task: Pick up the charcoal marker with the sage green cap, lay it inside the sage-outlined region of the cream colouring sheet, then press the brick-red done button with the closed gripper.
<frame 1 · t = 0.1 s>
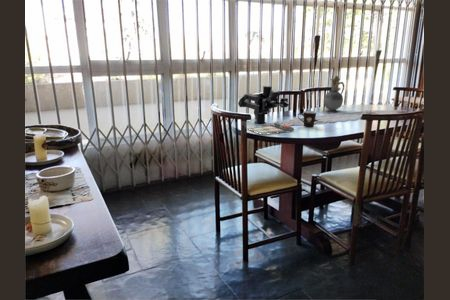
hand: (282, 105, 208), 17 cm above the table, tool horizontal, fingers open, 9 cm apart
marker: (279, 127, 222), on the table
coffee mug: (306, 126, 226), on the table
colouring board: (265, 131, 211), on the table
button housing: (286, 130, 213), on the table
done button: (286, 127, 212), point 2 cm above the table, slide at 0.0 cm
pitcher: (333, 111, 281), on the table
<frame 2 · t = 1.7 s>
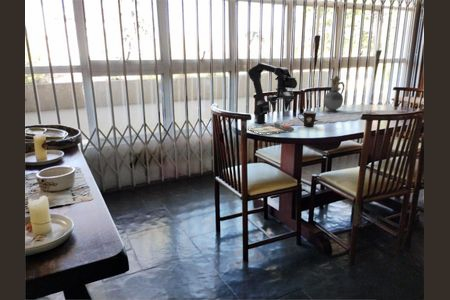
hand: (280, 110, 218), 11 cm above the table, tool pointing down, fingers open, 9 cm apart
nothing on the table moved.
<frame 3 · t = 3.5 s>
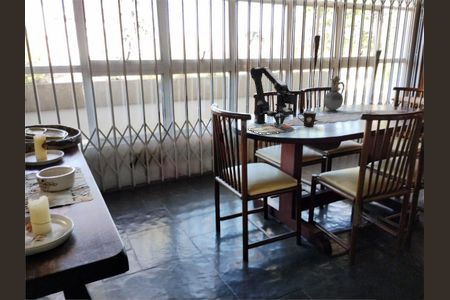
hand: (279, 125, 221), 1 cm above the table, tool pointing down, fingers closed on marker, 2 cm apart
marker: (279, 127, 222), on the table, touching gripper
everything else where it was.
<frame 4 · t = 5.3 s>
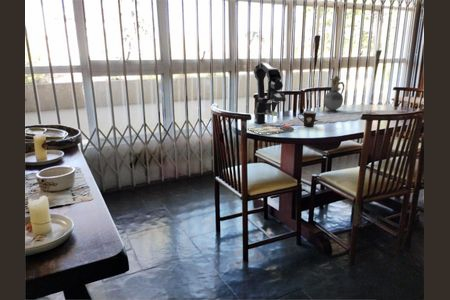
hand: (271, 112, 212), 11 cm above the table, tool pointing down, fingers closed on marker, 2 cm apart
marker: (271, 114, 212), point 10 cm above the table, touching gripper
everything else where it was.
when the fingers open (3 cm above the table, at t = 7.5 s): marker drops 1 cm, resting on colouring board.
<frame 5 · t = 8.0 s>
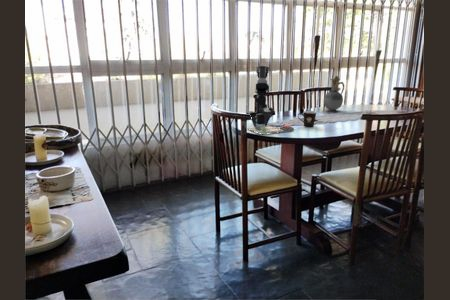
hand: (260, 126, 208), 3 cm above the table, tool pointing down, fingers open, 8 cm apart
marker: (260, 130, 209), point 1 cm above the table, touching colouring board
everything else where it was.
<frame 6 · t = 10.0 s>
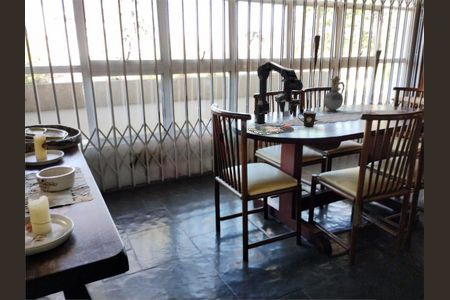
hand: (286, 113, 209), 11 cm above the table, tool pointing down, fingers open, 9 cm apart
nothing on the table moved.
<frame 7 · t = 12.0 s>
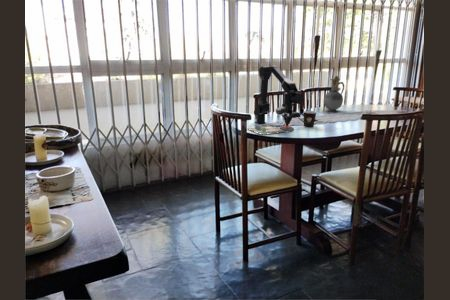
hand: (286, 125, 212), 3 cm above the table, tool pointing down, fingers closed, pressing on done button
done button: (286, 127, 213), point 2 cm above the table, slide at 0.2 cm, touching gripper
everything else where it was.
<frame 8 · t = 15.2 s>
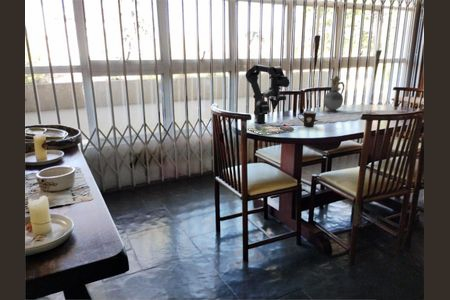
hand: (273, 109, 220), 12 cm above the table, tool pointing down, fingers closed
done button: (286, 128, 213), point 1 cm above the table, slide at 0.9 cm
everything else where it was.
at the end: marker 0.1 cm from the target spot on the colouring board, point 1.1 cm above the colouring board's base; done button slide at 0.9 cm; the gripper is holding nothing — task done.
